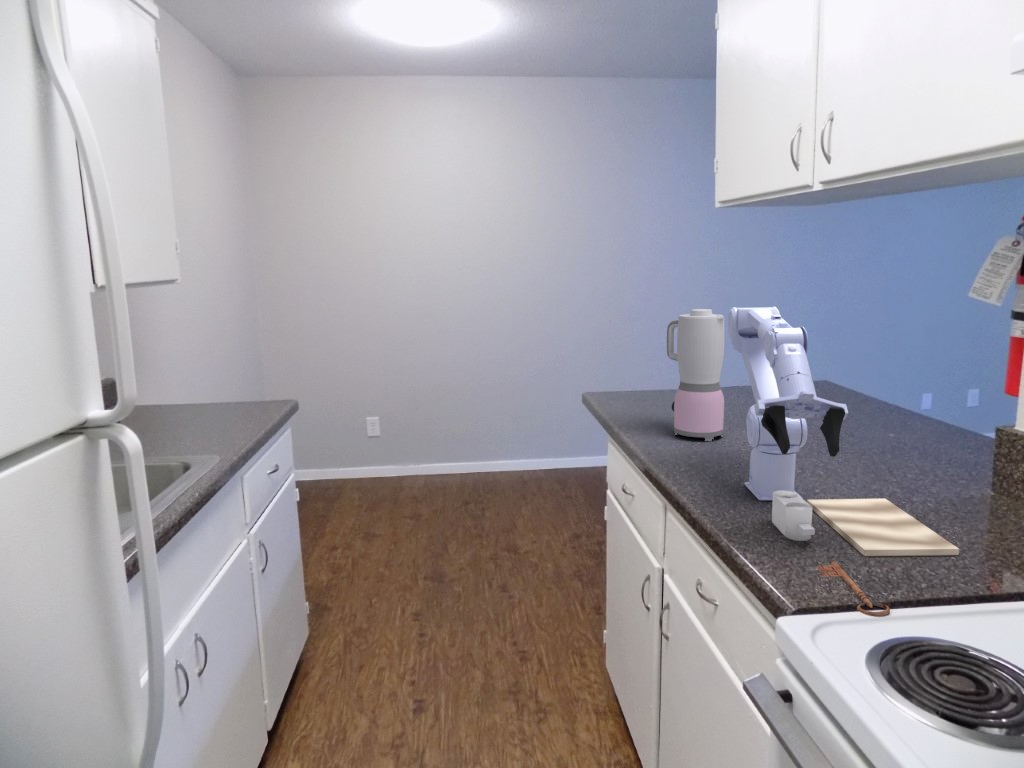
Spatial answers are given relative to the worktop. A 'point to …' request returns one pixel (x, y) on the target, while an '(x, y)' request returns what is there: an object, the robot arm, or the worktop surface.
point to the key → (854, 587)
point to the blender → (698, 373)
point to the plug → (792, 515)
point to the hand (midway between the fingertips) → (810, 452)
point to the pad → (880, 528)
